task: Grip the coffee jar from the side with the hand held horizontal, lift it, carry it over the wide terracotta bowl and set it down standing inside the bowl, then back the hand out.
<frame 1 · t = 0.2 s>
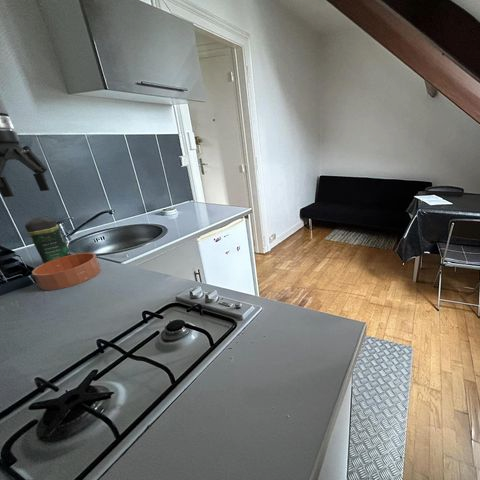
hand: (28, 193, 95), 27 cm above the worktop, tool pointing down, fingers open, 13 cm apart
coffee jar: (61, 264, 100), on the worktop
bowl: (72, 277, 90), on the worktop
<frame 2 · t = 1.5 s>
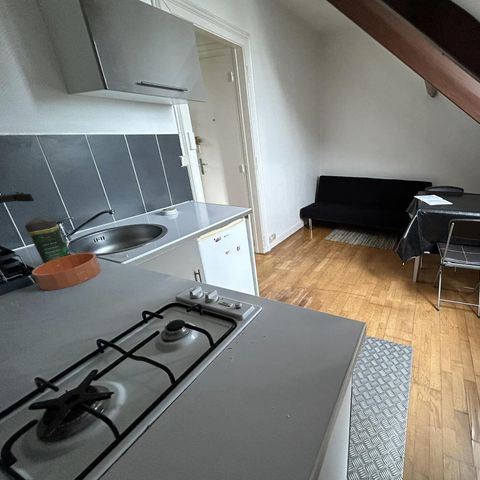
hand: (9, 202, 92), 24 cm above the worktop, tool horizontal, fingers open, 13 cm apart
nothing on the worktop moved.
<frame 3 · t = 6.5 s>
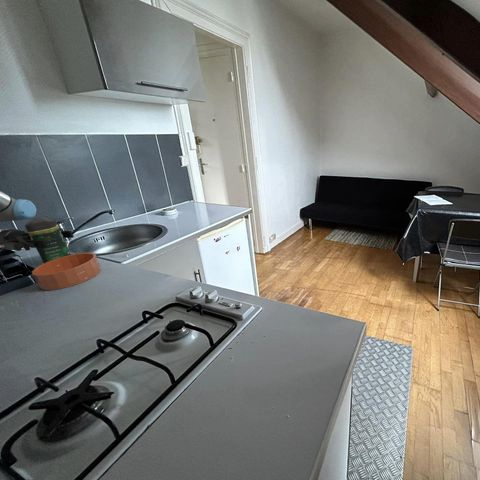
hand: (58, 238, 95), 10 cm above the worktop, tool horizontal, fingers closed on coffee jar, 8 cm apart
coffee jar: (61, 264, 100), on the worktop, touching gripper
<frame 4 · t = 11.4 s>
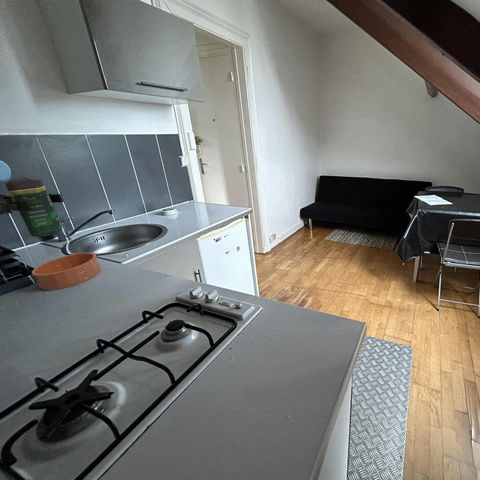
hand: (45, 201, 83), 26 cm above the worktop, tool horizontal, fingers closed on coffee jar, 8 cm apart
coffee jar: (49, 233, 87), point 15 cm above the worktop, touching gripper
when the fingers open (11 cm above the worktop, at t = 16.6 s): coffee jar stays where it is, resting on bowl.
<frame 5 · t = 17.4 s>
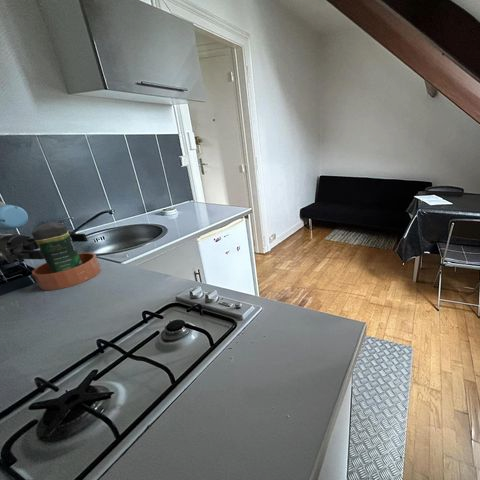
hand: (65, 245, 84), 12 cm above the worktop, tool horizontal, fingers open, 13 cm apart
coffee jar: (71, 275, 89), point 1 cm above the worktop, touching bowl
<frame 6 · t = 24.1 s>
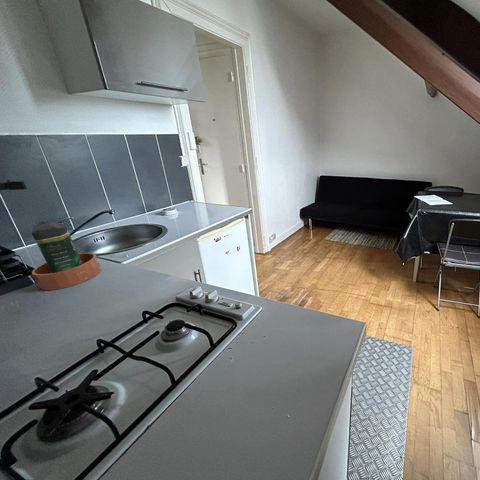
nothing on the worktop moved.
at the end: coffee jar 0.0 cm off-centre in the bowl, point 0.6 cm above the bowl's base; coffee jar tilted 0°; the gripper is holding nothing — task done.
